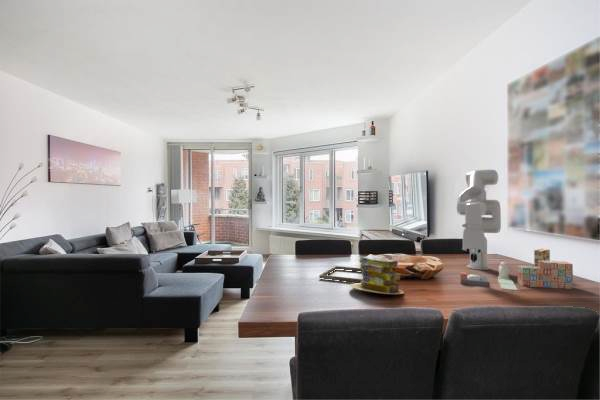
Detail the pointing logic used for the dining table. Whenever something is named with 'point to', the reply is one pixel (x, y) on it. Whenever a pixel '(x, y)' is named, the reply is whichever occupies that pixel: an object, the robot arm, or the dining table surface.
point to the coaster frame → (324, 275)
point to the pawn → (503, 271)
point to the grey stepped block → (473, 282)
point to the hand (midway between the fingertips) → (473, 261)
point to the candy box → (541, 255)
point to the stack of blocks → (547, 275)
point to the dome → (474, 277)
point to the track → (507, 284)
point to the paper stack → (378, 275)
